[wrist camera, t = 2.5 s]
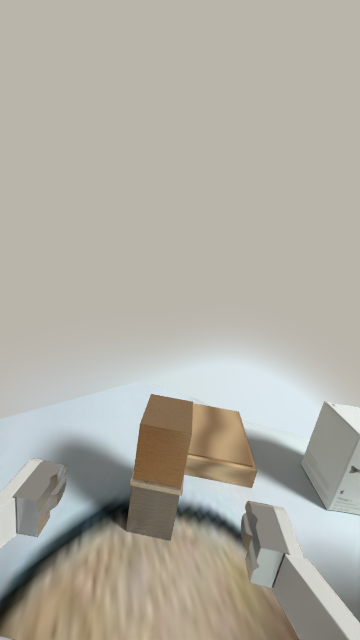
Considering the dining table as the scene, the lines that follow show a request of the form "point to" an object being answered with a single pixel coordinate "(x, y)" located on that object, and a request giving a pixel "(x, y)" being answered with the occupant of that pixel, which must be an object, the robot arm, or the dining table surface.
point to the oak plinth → (219, 447)
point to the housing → (159, 466)
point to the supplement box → (335, 457)
